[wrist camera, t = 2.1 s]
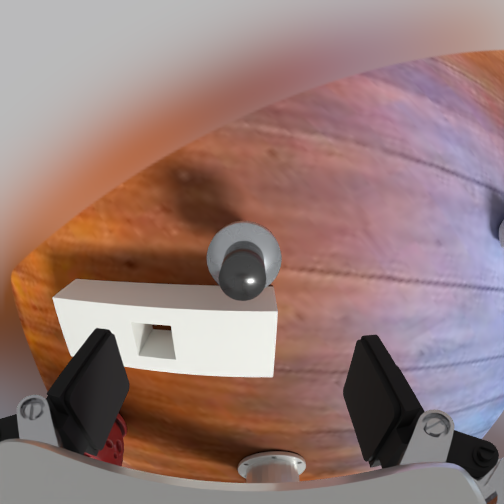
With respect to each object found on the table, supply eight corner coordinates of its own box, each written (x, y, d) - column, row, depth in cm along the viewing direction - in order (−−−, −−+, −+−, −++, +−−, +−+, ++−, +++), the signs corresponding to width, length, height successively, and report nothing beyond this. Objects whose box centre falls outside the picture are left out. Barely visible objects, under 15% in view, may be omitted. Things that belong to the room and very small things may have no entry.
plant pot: (89, 430, 40) (68, 473, 29) (58, 382, 36) (27, 427, 25) (146, 439, 40) (130, 491, 28) (117, 391, 36) (89, 448, 24)
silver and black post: (274, 268, 30) (284, 318, 20) (216, 268, 30) (200, 316, 20) (276, 211, 28) (289, 236, 18) (215, 210, 28) (196, 235, 18)
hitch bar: (270, 347, 33) (272, 377, 27) (89, 333, 32) (71, 356, 27) (273, 286, 30) (277, 311, 25) (76, 278, 30) (52, 297, 25)
